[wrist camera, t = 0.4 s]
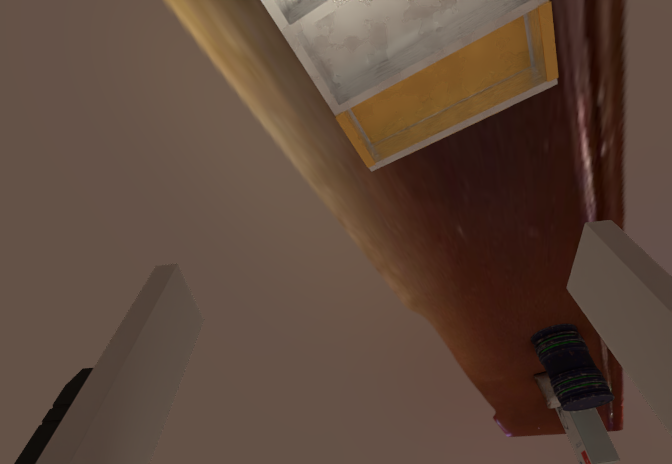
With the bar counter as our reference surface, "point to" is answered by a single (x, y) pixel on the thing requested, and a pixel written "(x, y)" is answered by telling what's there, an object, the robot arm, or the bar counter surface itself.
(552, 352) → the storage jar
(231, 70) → the bar counter surface
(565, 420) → the hard drive box
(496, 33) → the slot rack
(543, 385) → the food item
